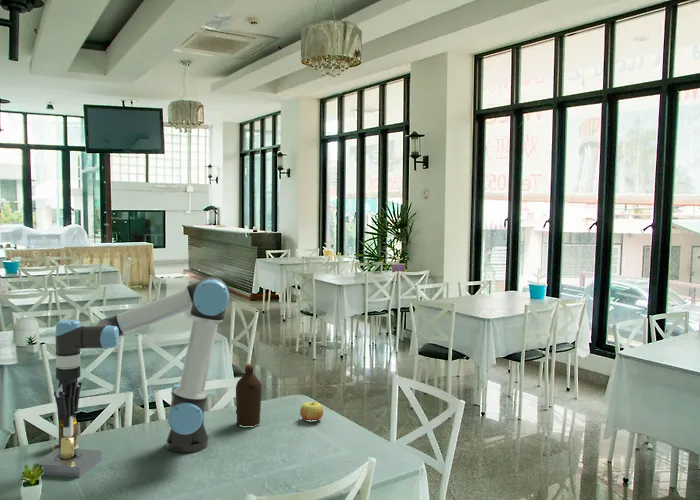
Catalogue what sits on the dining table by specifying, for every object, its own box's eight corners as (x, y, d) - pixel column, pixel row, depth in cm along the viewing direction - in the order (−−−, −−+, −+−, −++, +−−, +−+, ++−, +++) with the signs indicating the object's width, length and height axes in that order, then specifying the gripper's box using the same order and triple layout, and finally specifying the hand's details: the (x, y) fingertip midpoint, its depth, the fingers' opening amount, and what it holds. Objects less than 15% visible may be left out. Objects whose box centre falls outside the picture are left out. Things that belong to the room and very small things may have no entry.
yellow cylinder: (76, 465, 205) (76, 436, 204) (69, 470, 201) (69, 441, 200) (65, 464, 205) (65, 435, 205) (58, 469, 201) (58, 440, 201)
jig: (101, 460, 210) (101, 450, 209) (79, 477, 196) (79, 467, 195) (58, 457, 211) (58, 447, 211) (33, 474, 197) (33, 463, 197)
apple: (327, 418, 258) (327, 400, 257) (316, 425, 249) (317, 406, 248) (306, 415, 262) (307, 397, 261) (295, 422, 253) (296, 403, 252)
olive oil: (266, 423, 250) (267, 364, 248) (247, 430, 241) (248, 369, 240) (249, 418, 256) (250, 360, 255) (229, 424, 248) (230, 364, 247)
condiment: (79, 448, 220) (79, 416, 219) (53, 453, 215) (53, 420, 214) (75, 441, 226) (75, 410, 225) (50, 446, 221) (50, 414, 220)
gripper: (68, 361, 208) (68, 428, 210) (45, 370, 195) (46, 441, 197) (89, 362, 208) (89, 429, 209) (67, 371, 195) (67, 443, 196)
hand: (68, 435), depth 203 cm, fingers closed
